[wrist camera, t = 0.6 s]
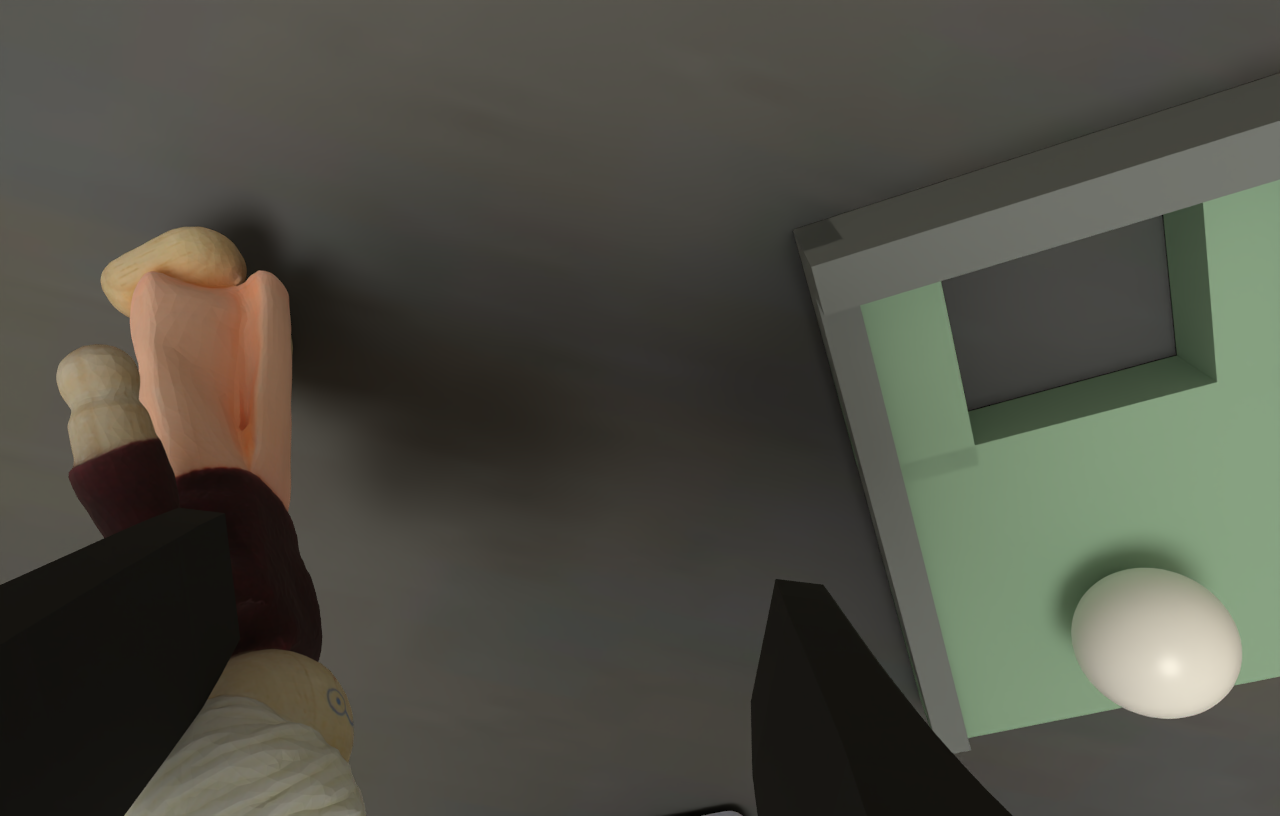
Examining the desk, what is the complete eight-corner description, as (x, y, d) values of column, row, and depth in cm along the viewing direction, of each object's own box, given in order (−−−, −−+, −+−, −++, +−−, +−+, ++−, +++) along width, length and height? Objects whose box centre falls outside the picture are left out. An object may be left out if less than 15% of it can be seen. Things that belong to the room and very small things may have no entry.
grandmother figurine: (361, 360, 21) (515, 869, 14) (223, 429, 21) (304, 985, 14) (152, 107, 15) (223, 780, 8) (-47, 200, 15) (-176, 990, 7)
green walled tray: (1307, 619, 22) (1403, 711, 19) (920, 699, 23) (952, 794, 21) (1287, 70, 16) (1414, 78, 14) (792, 229, 18) (811, 266, 15)
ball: (1196, 633, 20) (1281, 735, 17) (1058, 661, 21) (1118, 765, 18) (1184, 524, 19) (1274, 614, 16) (1039, 559, 19) (1100, 651, 17)
